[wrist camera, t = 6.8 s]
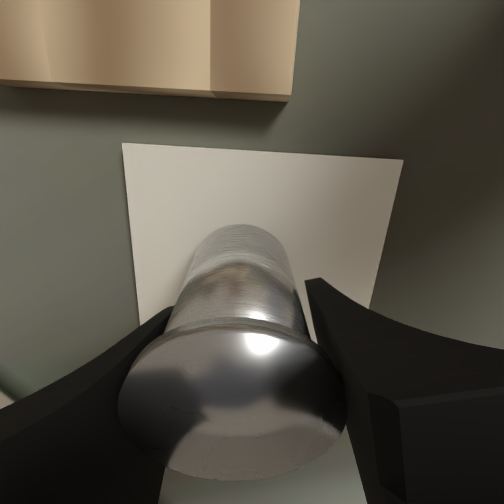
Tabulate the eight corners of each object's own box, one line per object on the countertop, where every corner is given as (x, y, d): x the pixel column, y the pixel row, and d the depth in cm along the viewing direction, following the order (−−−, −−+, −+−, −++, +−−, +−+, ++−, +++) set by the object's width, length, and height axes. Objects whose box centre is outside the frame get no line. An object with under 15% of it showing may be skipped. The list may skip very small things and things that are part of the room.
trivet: (397, 159, 12) (403, 159, 11) (348, 373, 16) (351, 381, 16) (128, 143, 12) (121, 142, 12) (148, 356, 16) (144, 364, 16)
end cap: (284, 201, 11) (331, 308, 5) (307, 301, 13) (358, 463, 7) (166, 232, 12) (70, 364, 5) (206, 323, 14) (171, 492, 8)
